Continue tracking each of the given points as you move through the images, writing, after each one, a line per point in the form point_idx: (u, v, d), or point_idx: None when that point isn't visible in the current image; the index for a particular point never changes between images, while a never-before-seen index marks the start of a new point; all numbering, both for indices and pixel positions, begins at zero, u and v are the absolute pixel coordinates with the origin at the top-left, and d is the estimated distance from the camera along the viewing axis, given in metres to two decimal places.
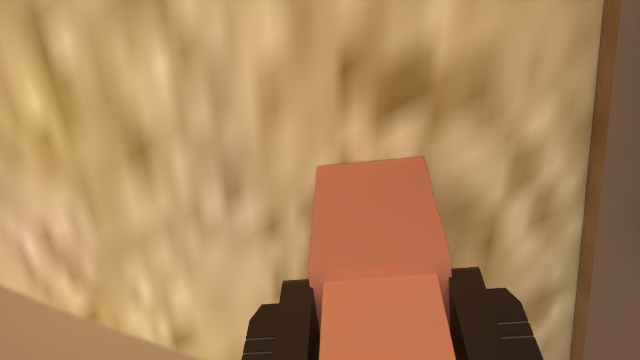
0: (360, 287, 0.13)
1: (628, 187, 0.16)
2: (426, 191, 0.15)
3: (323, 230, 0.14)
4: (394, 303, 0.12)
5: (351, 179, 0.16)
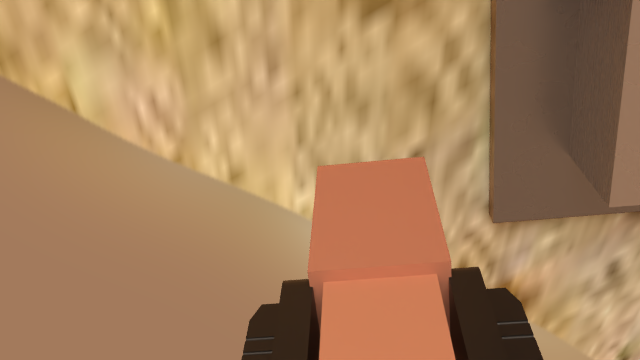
0: (360, 287, 0.13)
1: (511, 57, 0.27)
2: (426, 191, 0.15)
3: (324, 230, 0.14)
4: (394, 303, 0.12)
5: (351, 179, 0.16)
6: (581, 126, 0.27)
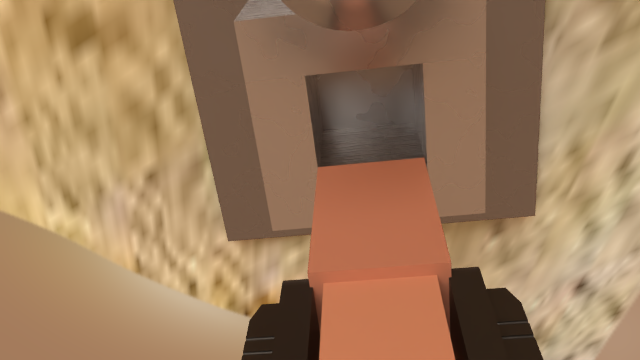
0: (360, 288, 0.13)
1: (207, 87, 0.28)
2: (426, 192, 0.15)
3: (324, 231, 0.14)
4: (394, 304, 0.12)
5: (351, 180, 0.16)
6: None
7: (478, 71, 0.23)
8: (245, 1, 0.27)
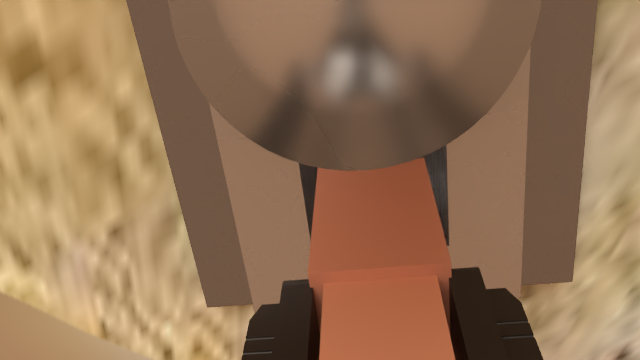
0: (360, 289, 0.13)
1: (178, 132, 0.23)
2: (426, 192, 0.15)
3: (324, 231, 0.14)
4: (394, 305, 0.12)
5: (351, 180, 0.16)
6: None
7: (517, 129, 0.17)
8: None
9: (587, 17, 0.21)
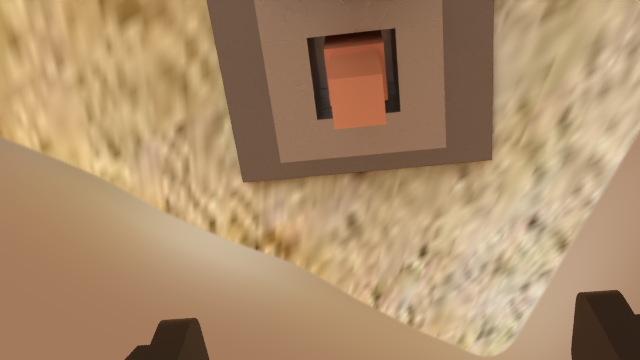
0: (345, 54, 0.30)
1: (228, 53, 0.36)
2: None
3: (330, 40, 0.32)
4: (359, 56, 0.30)
5: None
6: None
7: (437, 34, 0.30)
8: None
9: None
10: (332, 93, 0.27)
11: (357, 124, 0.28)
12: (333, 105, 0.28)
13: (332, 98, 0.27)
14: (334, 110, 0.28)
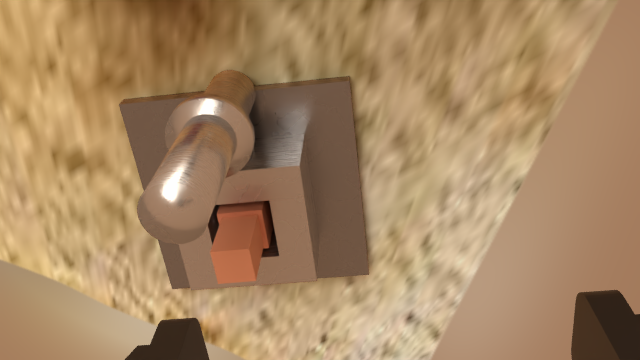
0: (233, 218, 0.40)
1: None
2: None
3: None
4: (241, 222, 0.39)
5: None
6: None
7: (301, 204, 0.40)
8: None
9: (351, 145, 0.43)
10: (213, 260, 0.37)
11: (234, 280, 0.38)
12: (215, 268, 0.37)
13: (214, 264, 0.37)
14: (216, 271, 0.37)
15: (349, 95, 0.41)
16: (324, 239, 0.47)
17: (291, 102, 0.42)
